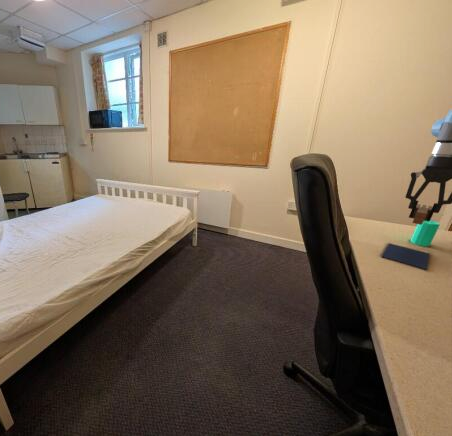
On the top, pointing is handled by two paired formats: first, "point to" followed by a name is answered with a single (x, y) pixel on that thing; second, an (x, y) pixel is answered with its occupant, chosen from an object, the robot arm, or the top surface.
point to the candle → (425, 233)
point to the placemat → (406, 256)
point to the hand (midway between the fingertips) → (419, 218)
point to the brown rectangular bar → (421, 214)
